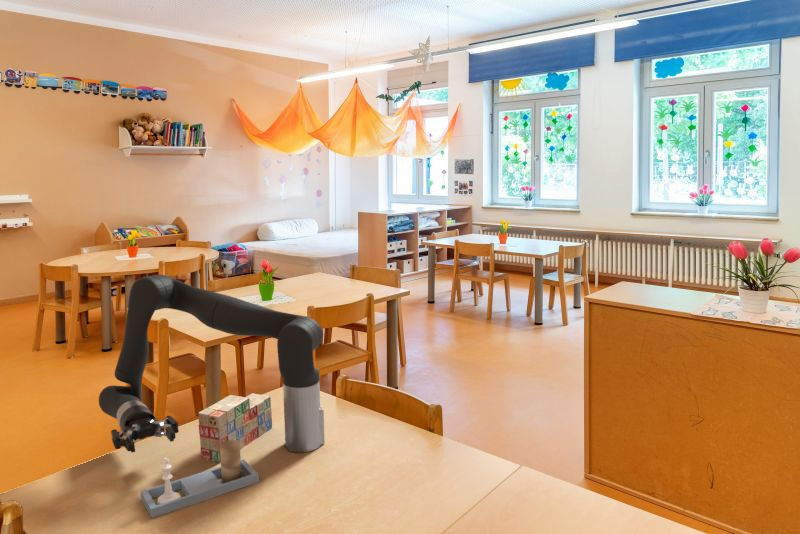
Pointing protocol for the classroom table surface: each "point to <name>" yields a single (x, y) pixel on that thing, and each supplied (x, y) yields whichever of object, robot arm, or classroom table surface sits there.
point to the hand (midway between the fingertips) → (153, 442)
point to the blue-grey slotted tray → (197, 489)
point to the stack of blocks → (233, 422)
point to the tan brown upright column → (230, 460)
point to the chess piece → (167, 485)
